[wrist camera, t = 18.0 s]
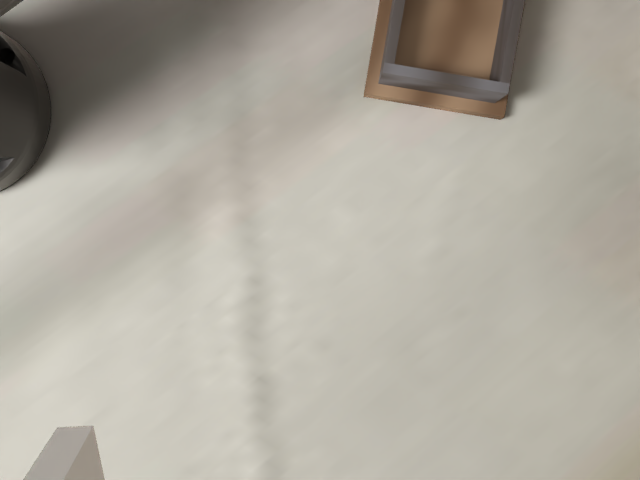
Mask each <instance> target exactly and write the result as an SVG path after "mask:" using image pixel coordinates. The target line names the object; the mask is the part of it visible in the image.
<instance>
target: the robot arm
mask: <svg viewBox="0 0 640 480" xmlns="http://www.w3.org/2000/svg"><path fill="white" fill-rule="evenodd" d="M22 1H23V0H0V17H1V16H2V15H4V14H5V13H6V12H8V11H9V10H11V9H12V8H13V7H15V6H16V5H17V4H19V3H20V2H22ZM50 119H51V106H50V98H49V92H48V89H47V85H46V82H45V80H44V77H43V75H42V73H41V71H40V69H39V67H38V66H37V64H36V62H35V61H34V60H33V58H32V57H31V56H30V54H29V53H28V52H27V51H26V50H25V49H24V48H23V47H22V46H21V45H20V44H19V43H17V42H16V41H15V40H13V39H12V38H10V37H9V36H7V35H6V34H4V33H2V32H1V31H0V191H1V190H3V189H5V188H7V187H9V186H10V185H12V184H13V183H15V182H16V181H18V180H19V179H20V178H21V177H22V176H23V175H24V174H25V173H26V172H27V171H28V170H29V169H30V168H31V167H32V166H33V164H34V163H35V162H36V160H37V158H38V157H39V155H40V153H41V151H42V149H43V147H44V145H45V142H46V139H47V136H48V132H49V127H50ZM23 480H105V479H104V474H103V470H102V465H101V460H100V455H99V451H98V446H97V441H96V436H95V432H94V427H93V426H81V427H60V428H57V429H56V430H55V432H54V433H53V435H52V436H51V438H50V439H49V441H48V442H47V444H46V445H45V447H44V449H43V450H42V452H41V453H40V455H39V456H38V458H37V459H36V461H35V462H34V464H33V466H32V467H31V469H30V470H29V472H28V473H27V475H26V476H25V478H24V479H23Z"/></svg>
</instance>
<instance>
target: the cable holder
mask: <svg viewBox="0 0 640 480" xmlns="http://www.w3.org/2000/svg"><path fill="white" fill-rule="evenodd" d="M524 4H525V0H380V3H379V9H378V15H377V21H376V27H375V32H374V38H373V44H372V50H371V56H370V62H369V68H368V74H367V79H366V85H365V91H364V97H369V98H375V99H381V100H387V101H393V102H399V103H405V104H411V105H417V106H422V107H428V108H434V109H440V110H446V111H452V112H458V113H464V114H470V115H476V116H482V117H488V118H494V119H499V120H500V119H502V118H503V117H504V115H505V110H506V104H507V99H508V93H509V88H510V82H511V76H512V71H513V65H514V60H515V54H516V48H517V43H518V37H519V32H520V26H521V20H522V15H523V9H524Z"/></svg>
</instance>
